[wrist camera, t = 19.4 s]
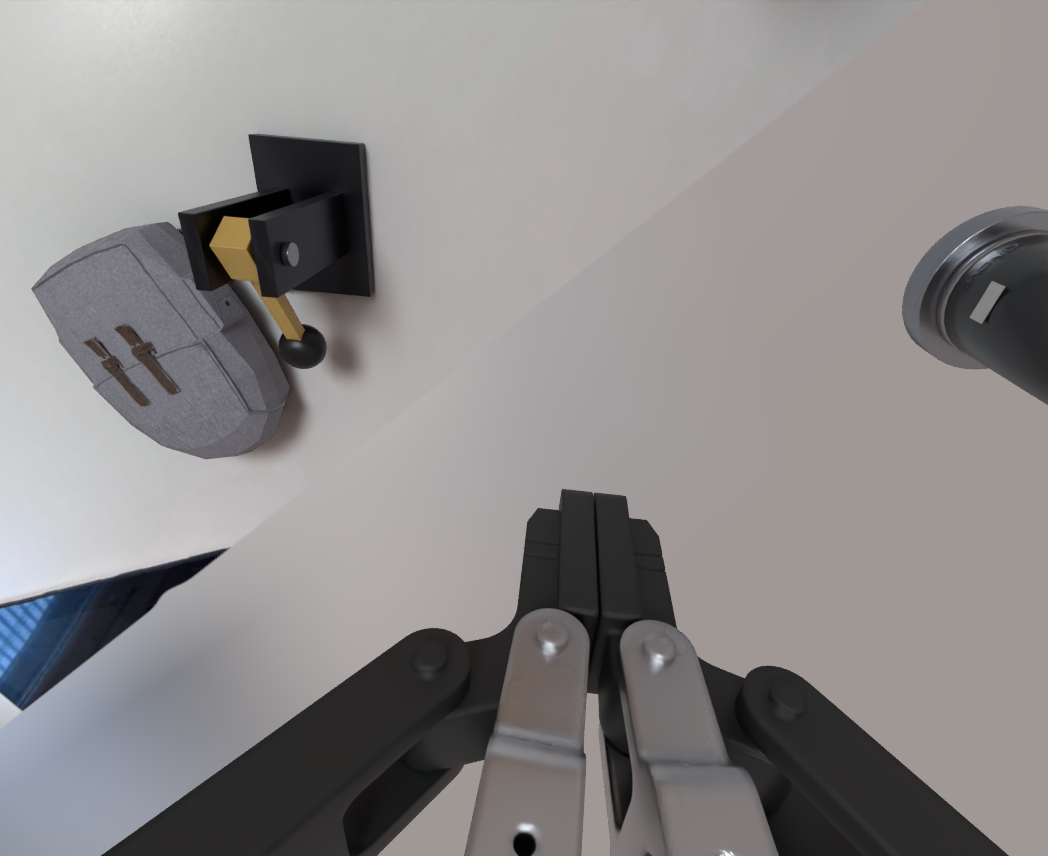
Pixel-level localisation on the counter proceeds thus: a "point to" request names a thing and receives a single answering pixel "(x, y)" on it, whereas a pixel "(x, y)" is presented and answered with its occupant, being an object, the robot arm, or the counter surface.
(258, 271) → the lock bracket
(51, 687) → the counter surface
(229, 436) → the soft grey pack
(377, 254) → the counter surface
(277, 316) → the lever
